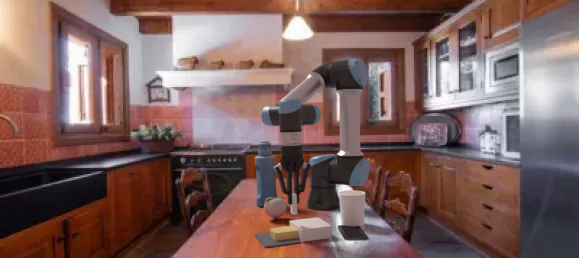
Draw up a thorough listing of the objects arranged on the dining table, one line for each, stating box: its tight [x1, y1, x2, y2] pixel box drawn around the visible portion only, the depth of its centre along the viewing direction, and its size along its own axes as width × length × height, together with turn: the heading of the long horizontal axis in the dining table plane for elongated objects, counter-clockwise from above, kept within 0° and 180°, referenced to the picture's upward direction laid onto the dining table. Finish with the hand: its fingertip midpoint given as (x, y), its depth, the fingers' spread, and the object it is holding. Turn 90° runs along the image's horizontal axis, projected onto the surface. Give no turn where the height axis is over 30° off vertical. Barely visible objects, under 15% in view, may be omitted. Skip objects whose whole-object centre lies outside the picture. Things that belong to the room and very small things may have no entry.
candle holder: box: [338, 189, 366, 228], centre depth 143 cm, size 10×10×12 cm
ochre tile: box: [269, 225, 298, 241], centre depth 130 cm, size 8×6×2 cm
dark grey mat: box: [254, 231, 302, 249], centre depth 129 cm, size 12×14×1 cm
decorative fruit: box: [263, 194, 288, 220], centre depth 154 cm, size 9×8×10 cm
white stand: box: [289, 217, 333, 243], centre depth 133 cm, size 11×12×4 cm
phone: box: [337, 224, 368, 241], centre depth 133 cm, size 8×1×15 cm
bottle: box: [254, 140, 278, 208], centre depth 179 cm, size 10×10×30 cm
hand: (294, 213), depth 131 cm, fingers closed
